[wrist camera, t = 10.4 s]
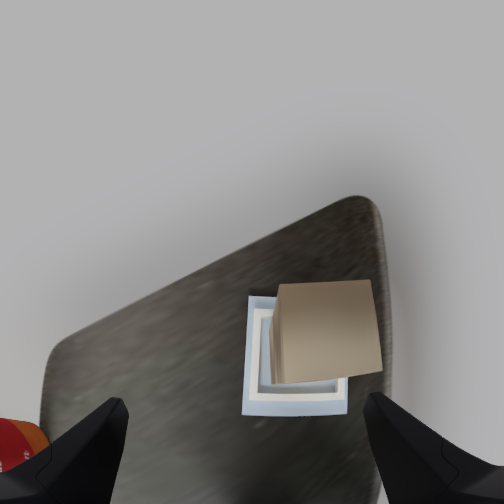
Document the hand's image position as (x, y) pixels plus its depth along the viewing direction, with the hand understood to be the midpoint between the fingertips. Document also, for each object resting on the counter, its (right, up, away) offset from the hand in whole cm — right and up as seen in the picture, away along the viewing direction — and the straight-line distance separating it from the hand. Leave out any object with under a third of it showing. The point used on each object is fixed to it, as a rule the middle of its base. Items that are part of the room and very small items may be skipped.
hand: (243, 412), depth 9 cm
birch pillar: (+4, -3, +13) cm, 14 cm away
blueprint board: (+4, -3, +14) cm, 14 cm away
